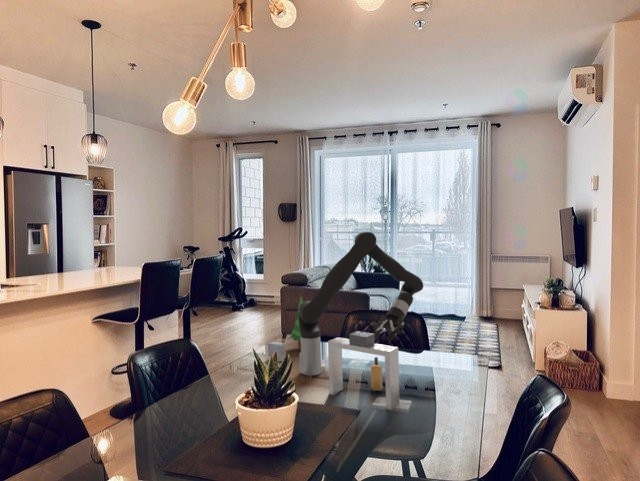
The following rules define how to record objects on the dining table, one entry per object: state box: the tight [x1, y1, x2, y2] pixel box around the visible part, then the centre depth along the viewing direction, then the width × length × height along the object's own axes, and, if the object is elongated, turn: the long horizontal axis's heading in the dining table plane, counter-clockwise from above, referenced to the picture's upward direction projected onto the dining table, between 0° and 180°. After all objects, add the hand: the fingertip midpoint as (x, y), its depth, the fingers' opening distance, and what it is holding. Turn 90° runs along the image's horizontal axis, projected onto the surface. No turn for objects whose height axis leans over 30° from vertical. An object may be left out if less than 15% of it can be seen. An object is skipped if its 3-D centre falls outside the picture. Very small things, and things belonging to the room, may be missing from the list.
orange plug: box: [370, 356, 383, 390], centre depth 188 cm, size 5×5×14 cm
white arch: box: [327, 330, 400, 411], centre depth 179 cm, size 28×7×26 cm, turn 54°
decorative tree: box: [289, 296, 304, 351], centre depth 249 cm, size 14×16×30 cm
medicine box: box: [267, 341, 286, 363], centre depth 231 cm, size 8×4×9 cm, turn 58°
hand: (381, 339), depth 199 cm, fingers open, 8 cm apart
